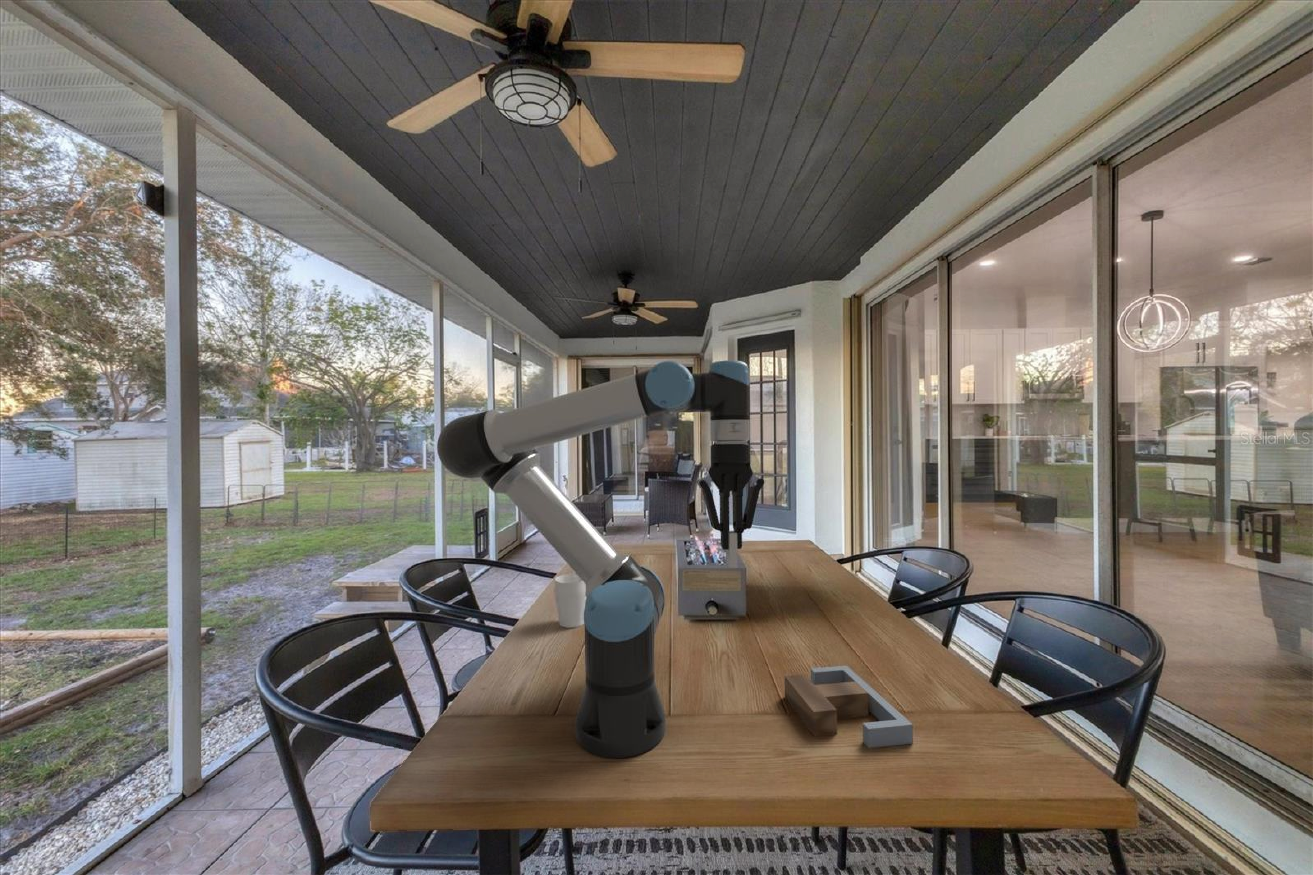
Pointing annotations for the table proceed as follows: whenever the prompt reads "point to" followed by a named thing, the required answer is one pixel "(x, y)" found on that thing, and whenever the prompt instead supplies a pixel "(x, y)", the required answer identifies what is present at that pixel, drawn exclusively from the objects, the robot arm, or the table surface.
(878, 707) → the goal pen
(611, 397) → the robot arm
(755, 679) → the table surface
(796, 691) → the walnut T
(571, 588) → the cup
